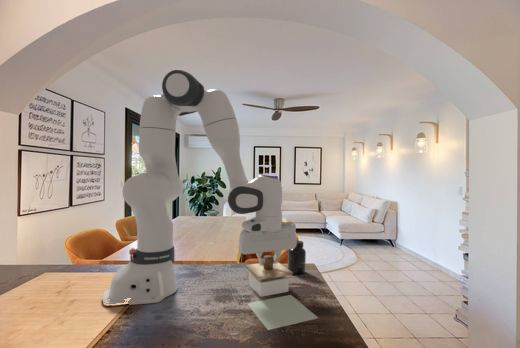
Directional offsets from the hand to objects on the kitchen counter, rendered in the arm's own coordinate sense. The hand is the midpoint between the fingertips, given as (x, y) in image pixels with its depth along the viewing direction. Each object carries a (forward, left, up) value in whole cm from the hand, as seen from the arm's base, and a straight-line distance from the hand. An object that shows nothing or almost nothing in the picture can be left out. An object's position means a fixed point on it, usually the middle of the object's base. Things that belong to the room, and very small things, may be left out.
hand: (268, 264), depth 95 cm
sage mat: (-3, -15, -8) cm, 17 cm away
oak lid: (0, 0, -2) cm, 2 cm away
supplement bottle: (+17, +10, -9) cm, 22 cm away
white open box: (0, 0, -9) cm, 9 cm away
